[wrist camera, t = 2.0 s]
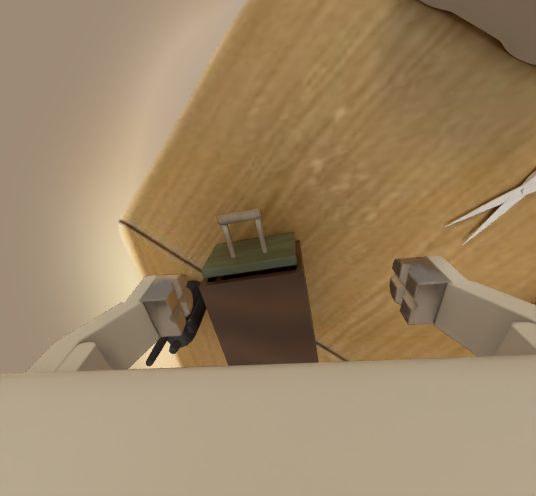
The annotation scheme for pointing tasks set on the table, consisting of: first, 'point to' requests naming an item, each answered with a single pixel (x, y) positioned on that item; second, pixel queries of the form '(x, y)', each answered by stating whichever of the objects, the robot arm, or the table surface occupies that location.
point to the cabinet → (263, 317)
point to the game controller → (499, 22)
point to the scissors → (509, 199)
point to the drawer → (250, 251)
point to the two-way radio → (190, 327)
